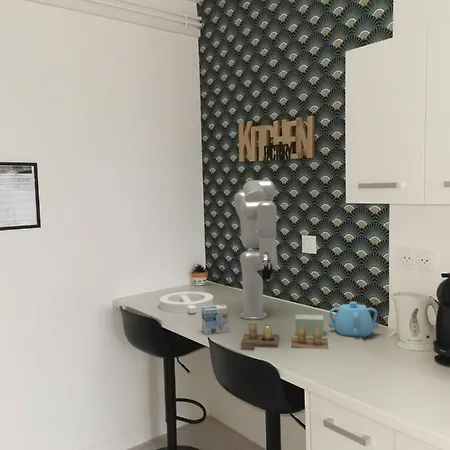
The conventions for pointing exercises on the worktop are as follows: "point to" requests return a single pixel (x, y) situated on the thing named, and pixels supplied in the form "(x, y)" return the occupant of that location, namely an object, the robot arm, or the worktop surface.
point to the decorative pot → (353, 320)
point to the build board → (257, 339)
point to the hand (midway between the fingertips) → (267, 276)
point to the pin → (267, 332)
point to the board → (309, 340)
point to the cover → (309, 323)
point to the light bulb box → (215, 319)
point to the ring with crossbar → (185, 302)
